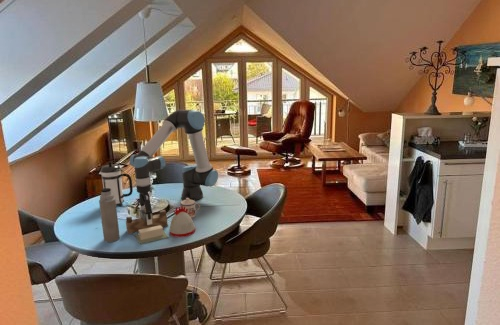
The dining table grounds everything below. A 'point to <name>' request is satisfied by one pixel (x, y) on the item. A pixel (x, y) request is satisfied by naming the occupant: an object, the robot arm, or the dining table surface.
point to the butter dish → (151, 234)
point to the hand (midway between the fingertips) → (146, 220)
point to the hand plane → (139, 224)
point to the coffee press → (115, 181)
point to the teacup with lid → (190, 207)
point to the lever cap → (144, 215)
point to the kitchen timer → (181, 223)
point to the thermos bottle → (109, 216)
